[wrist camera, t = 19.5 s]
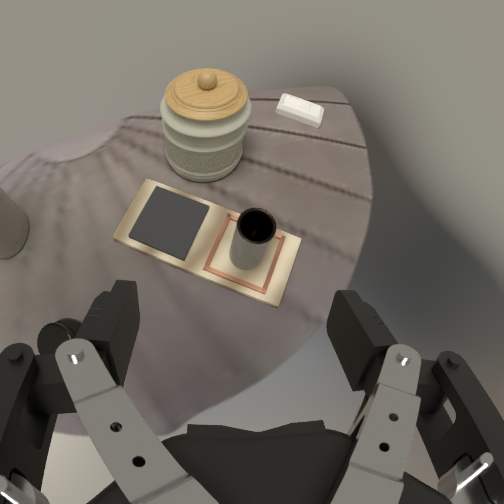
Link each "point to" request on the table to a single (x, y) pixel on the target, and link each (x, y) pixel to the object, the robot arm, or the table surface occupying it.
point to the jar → (204, 123)
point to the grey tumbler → (251, 237)
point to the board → (219, 251)
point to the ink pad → (169, 222)
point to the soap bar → (300, 110)
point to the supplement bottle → (57, 334)
